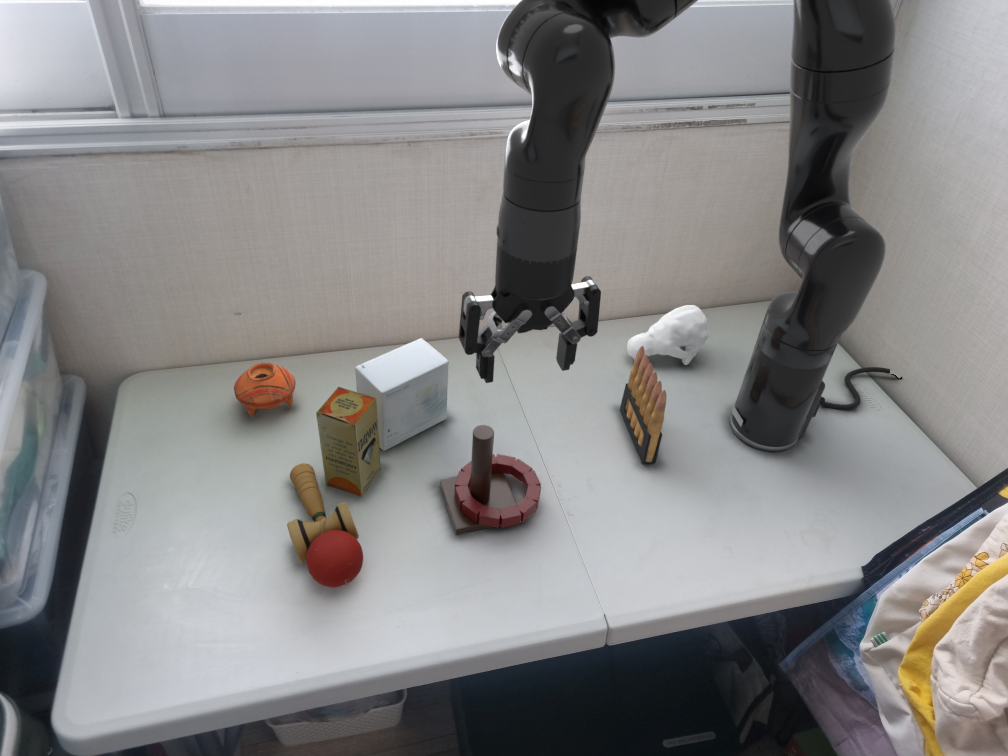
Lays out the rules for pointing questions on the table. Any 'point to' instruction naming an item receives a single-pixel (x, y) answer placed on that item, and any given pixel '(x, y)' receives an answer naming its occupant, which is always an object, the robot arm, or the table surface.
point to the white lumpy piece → (673, 335)
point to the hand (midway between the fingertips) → (525, 371)
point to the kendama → (324, 534)
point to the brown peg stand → (478, 483)
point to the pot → (264, 387)
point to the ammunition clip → (644, 408)
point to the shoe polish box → (349, 440)
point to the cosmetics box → (405, 390)
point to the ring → (503, 515)
